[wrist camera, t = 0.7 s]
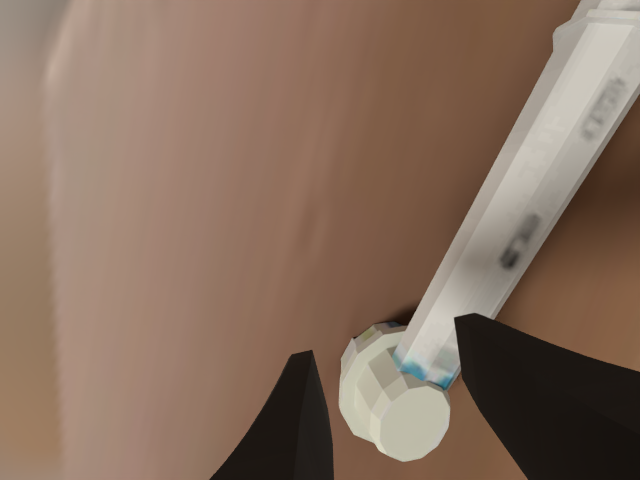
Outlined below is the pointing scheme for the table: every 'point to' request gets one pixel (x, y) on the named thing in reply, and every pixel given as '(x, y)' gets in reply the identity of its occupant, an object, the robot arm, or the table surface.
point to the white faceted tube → (497, 230)
